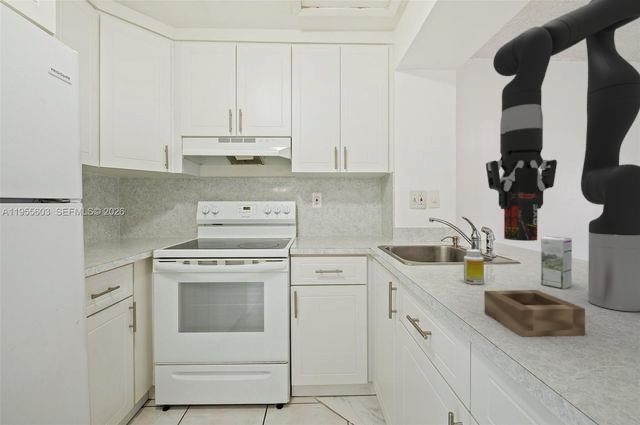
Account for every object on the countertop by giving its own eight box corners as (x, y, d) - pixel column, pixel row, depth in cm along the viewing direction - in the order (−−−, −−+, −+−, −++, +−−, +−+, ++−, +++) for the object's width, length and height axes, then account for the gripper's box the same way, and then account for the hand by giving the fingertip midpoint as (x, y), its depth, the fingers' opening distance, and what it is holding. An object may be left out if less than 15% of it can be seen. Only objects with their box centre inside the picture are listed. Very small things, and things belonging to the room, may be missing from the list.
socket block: (536, 311, 66) (536, 289, 66) (585, 335, 54) (585, 308, 54) (484, 312, 66) (484, 290, 66) (521, 336, 54) (521, 309, 54)
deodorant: (506, 237, 67) (506, 172, 67) (538, 238, 63) (538, 169, 63) (501, 239, 63) (502, 169, 62) (536, 241, 59) (536, 167, 58)
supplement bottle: (487, 284, 89) (487, 251, 88) (470, 285, 88) (469, 252, 88) (477, 280, 94) (477, 248, 94) (460, 280, 94) (460, 249, 94)
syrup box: (572, 286, 85) (572, 237, 85) (563, 289, 83) (563, 238, 82) (549, 282, 90) (549, 235, 90) (540, 284, 88) (540, 237, 87)
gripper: (541, 134, 66) (541, 208, 66) (477, 135, 66) (477, 209, 67) (569, 125, 59) (568, 208, 59) (497, 126, 59) (497, 209, 59)
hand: (520, 208), depth 63 cm, fingers closed on deodorant, 6 cm apart
